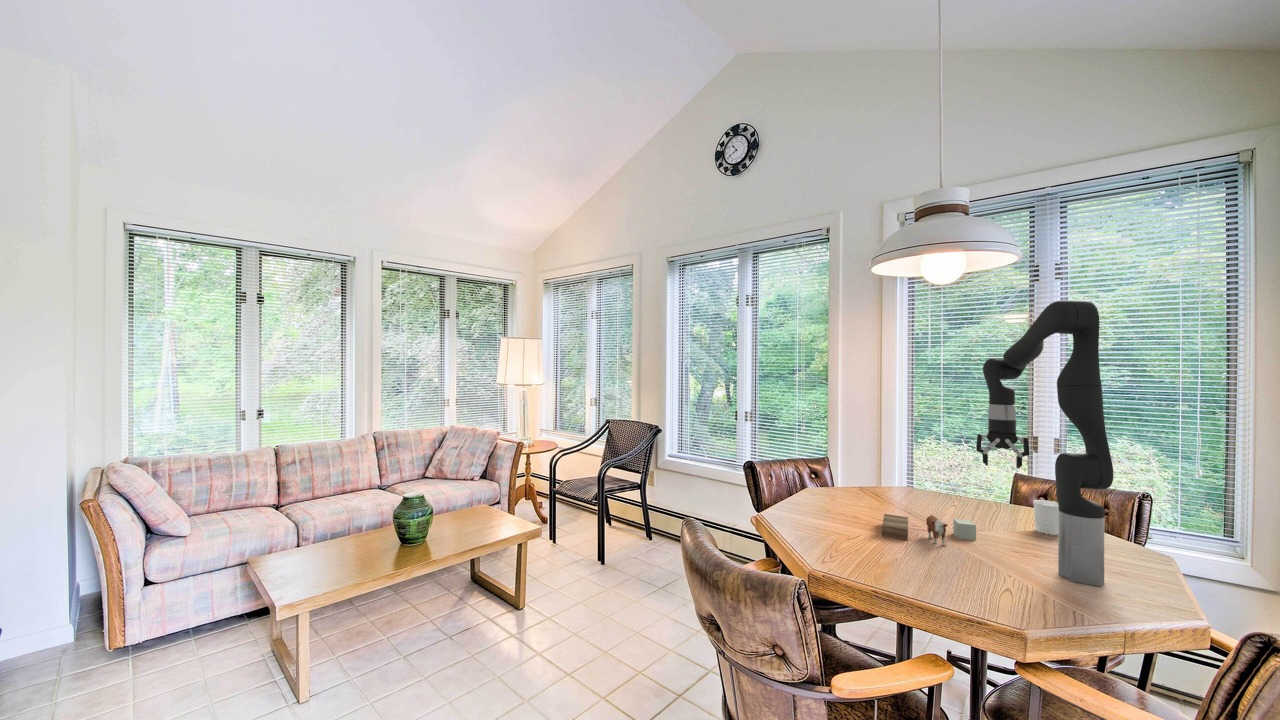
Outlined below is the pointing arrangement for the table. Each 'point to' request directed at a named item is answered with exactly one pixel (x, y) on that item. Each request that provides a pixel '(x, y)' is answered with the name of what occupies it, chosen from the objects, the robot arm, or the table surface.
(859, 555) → the table surface
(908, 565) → the table surface
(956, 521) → the sage cube
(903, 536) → the pedestal
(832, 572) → the table surface
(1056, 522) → the light grey block
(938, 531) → the bull figurine
